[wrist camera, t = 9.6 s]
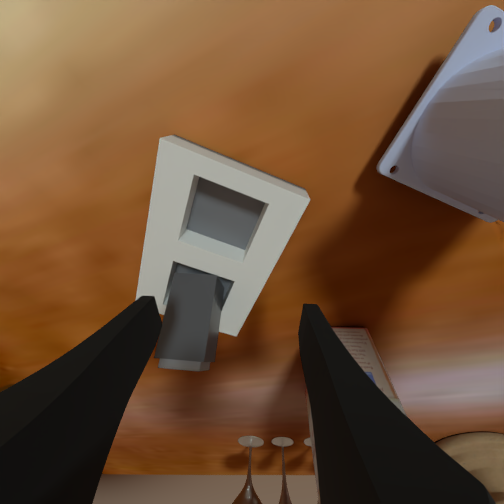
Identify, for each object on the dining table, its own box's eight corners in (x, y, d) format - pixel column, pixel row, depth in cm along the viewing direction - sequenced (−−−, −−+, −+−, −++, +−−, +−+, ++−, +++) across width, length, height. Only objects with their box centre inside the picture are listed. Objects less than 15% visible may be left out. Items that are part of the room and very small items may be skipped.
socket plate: (305, 188, 17) (310, 199, 15) (239, 317, 25) (236, 336, 22) (174, 134, 16) (159, 137, 14) (146, 288, 23) (134, 306, 21)
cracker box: (310, 323, 25) (425, 878, 7) (368, 324, 24) (653, 919, 6) (301, 392, 32) (345, 748, 14) (345, 394, 31) (448, 763, 14)
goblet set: (402, 434, 37) (462, 577, 25) (395, 448, 40) (447, 583, 28) (232, 433, 40) (218, 559, 29) (238, 447, 43) (227, 566, 32)
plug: (217, 274, 18) (202, 371, 16) (224, 287, 22) (213, 370, 19) (174, 272, 19) (151, 367, 16) (187, 285, 22) (171, 366, 19)
